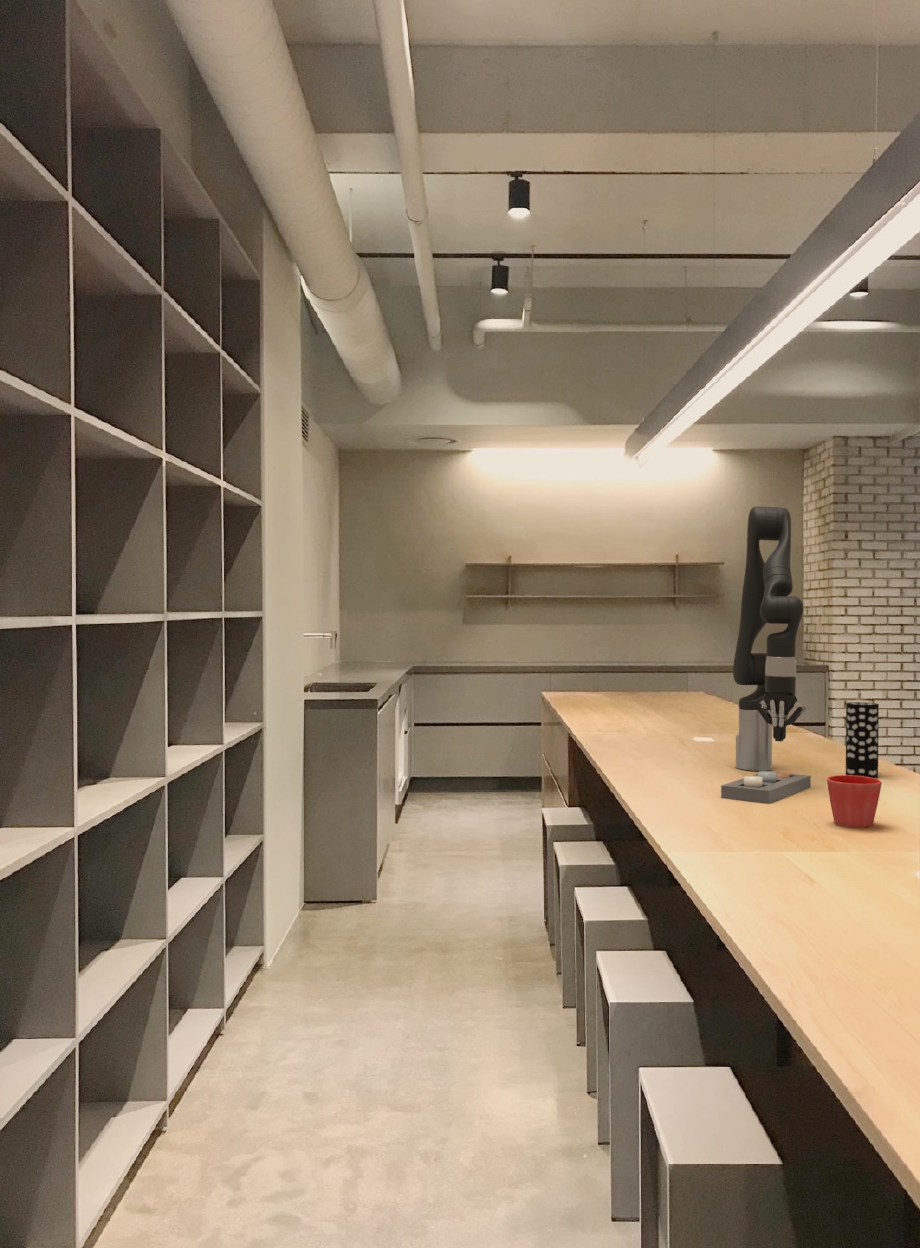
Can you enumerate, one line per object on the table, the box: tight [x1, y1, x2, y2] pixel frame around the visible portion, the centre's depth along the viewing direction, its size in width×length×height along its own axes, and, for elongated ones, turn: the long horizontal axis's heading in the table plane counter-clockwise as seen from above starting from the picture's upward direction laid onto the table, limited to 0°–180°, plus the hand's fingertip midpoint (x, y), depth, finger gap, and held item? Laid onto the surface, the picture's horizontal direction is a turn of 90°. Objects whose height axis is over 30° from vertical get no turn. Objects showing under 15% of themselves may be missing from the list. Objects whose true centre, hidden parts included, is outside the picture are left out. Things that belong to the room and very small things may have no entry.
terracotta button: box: [775, 771, 791, 778], centre depth 265 cm, size 4×4×3 cm
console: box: [720, 772, 812, 804], centre depth 258 cm, size 12×28×3 cm, turn 142°
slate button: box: [757, 770, 777, 783], centre depth 258 cm, size 4×4×3 cm
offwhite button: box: [743, 775, 762, 788], centre depth 250 cm, size 4×4×3 cm
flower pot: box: [826, 774, 883, 829], centre depth 220 cm, size 11×11×10 cm
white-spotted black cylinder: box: [845, 701, 880, 779], centre depth 282 cm, size 8×8×20 cm
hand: (779, 740), depth 265 cm, fingers closed
